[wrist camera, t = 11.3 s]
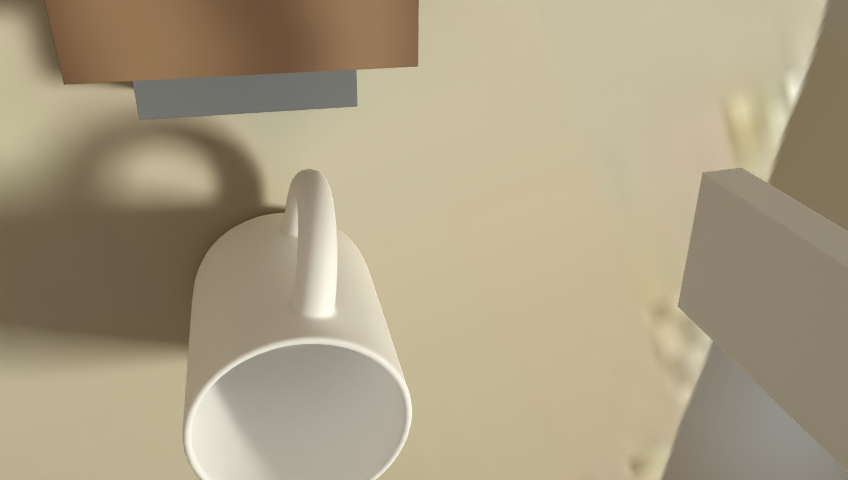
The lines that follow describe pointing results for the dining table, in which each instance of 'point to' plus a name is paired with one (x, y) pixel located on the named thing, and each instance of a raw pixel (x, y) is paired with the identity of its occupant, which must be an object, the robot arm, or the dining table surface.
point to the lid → (228, 37)
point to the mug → (291, 353)
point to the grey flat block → (245, 94)
